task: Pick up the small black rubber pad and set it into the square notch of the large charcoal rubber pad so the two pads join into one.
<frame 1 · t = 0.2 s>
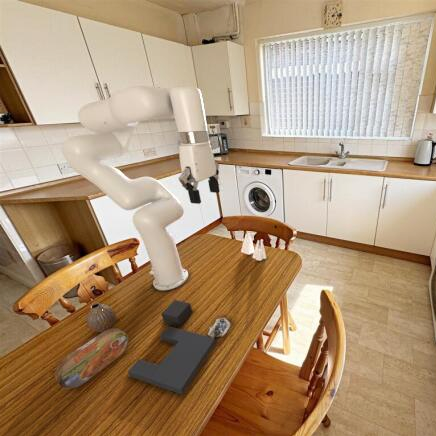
hand: (206, 197, 72), 36 cm above the table, tool pointing down, fingers open, 9 cm apart
tin: (100, 366, 63), on the table
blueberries: (219, 328, 73), on the table
shaker set: (253, 256, 107), on the table
charcoal pad: (175, 358, 64), on the table
vase: (106, 327, 74), on the table
black pad: (178, 317, 77), on the table
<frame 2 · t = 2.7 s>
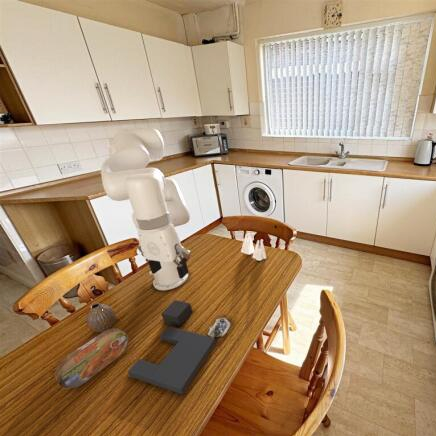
hand: (170, 273, 70), 17 cm above the table, tool pointing down, fingers open, 9 cm apart
nothing on the table moved.
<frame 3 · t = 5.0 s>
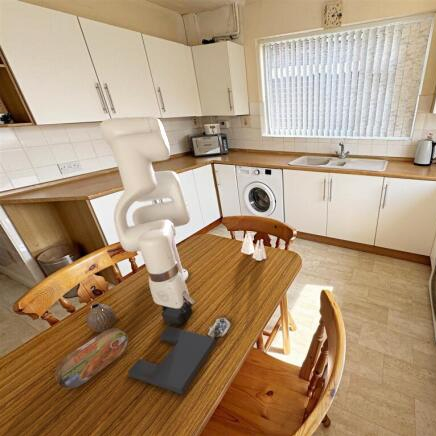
hand: (178, 316, 76), 1 cm above the table, tool pointing down, fingers closed on black pad, 6 cm apart
black pad: (178, 317, 77), on the table, touching gripper
everything else where it was.
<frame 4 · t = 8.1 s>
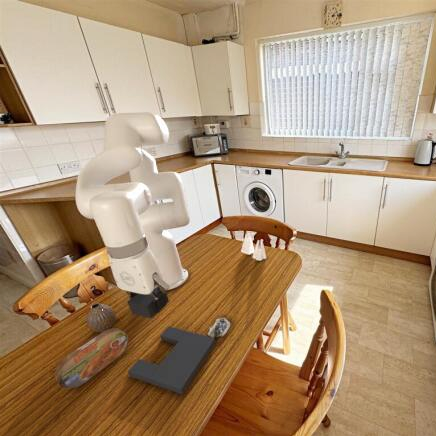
hand: (150, 305, 61), 15 cm above the table, tool pointing down, fingers closed on black pad, 6 cm apart
black pad: (151, 307, 61), point 15 cm above the table, touching gripper
everything else where it was.
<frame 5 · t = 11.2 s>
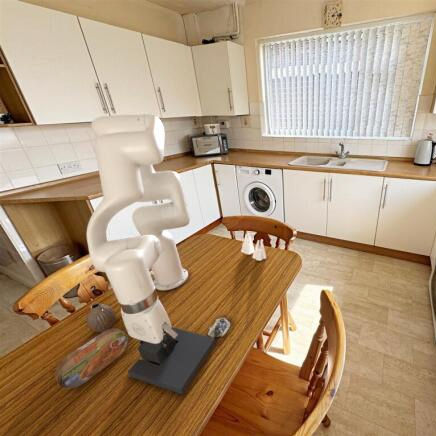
hand: (159, 349, 64), 2 cm above the table, tool pointing down, fingers closed on black pad, 6 cm apart
black pad: (159, 351, 64), point 2 cm above the table, touching gripper
everything else where it was.
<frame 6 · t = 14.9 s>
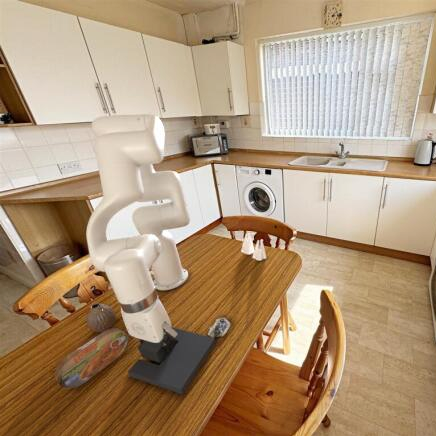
hand: (159, 348, 64), 2 cm above the table, tool pointing down, fingers closed on black pad, 5 cm apart
black pad: (159, 349, 65), point 2 cm above the table, touching gripper
everything else where it was.
when the fingers open (3 cm above the table, at t = 17.7 s): black pad drops 2 cm, on the table.
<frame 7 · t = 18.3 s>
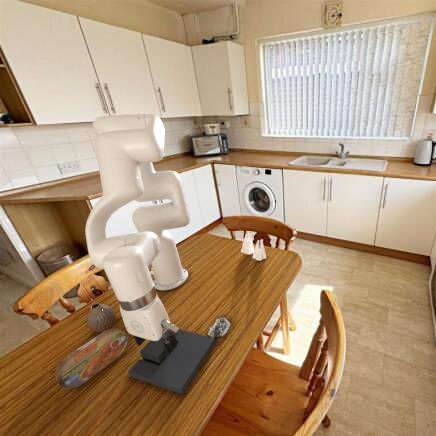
hand: (157, 345, 64), 4 cm above the table, tool pointing down, fingers open, 9 cm apart
black pad: (161, 354, 65), on the table
everything else where it was.
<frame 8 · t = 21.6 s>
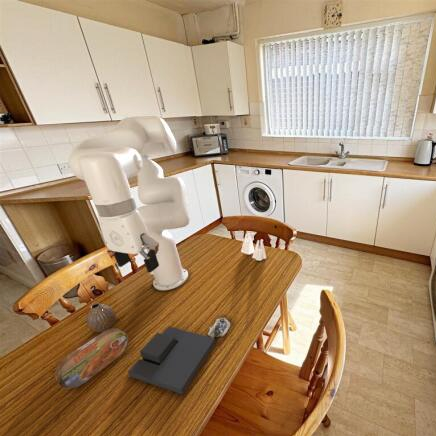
hand: (139, 266, 63), 23 cm above the table, tool pointing down, fingers open, 9 cm apart
nothing on the table moved.
at the end: black pad 0.1 cm from the target spot, on the table; black pad tilted 0°; the gripper is holding nothing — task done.
